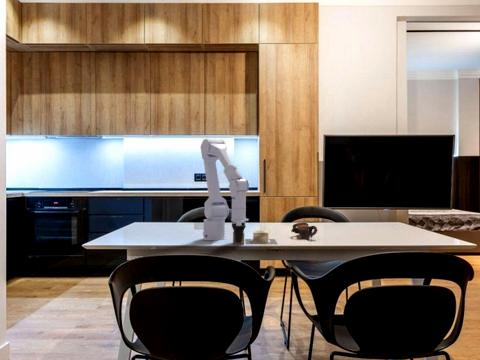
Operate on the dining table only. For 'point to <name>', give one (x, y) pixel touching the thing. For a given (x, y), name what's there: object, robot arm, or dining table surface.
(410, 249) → the dining table surface
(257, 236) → the oak block
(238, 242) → the walnut block
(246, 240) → the mat
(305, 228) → the pottery mug
